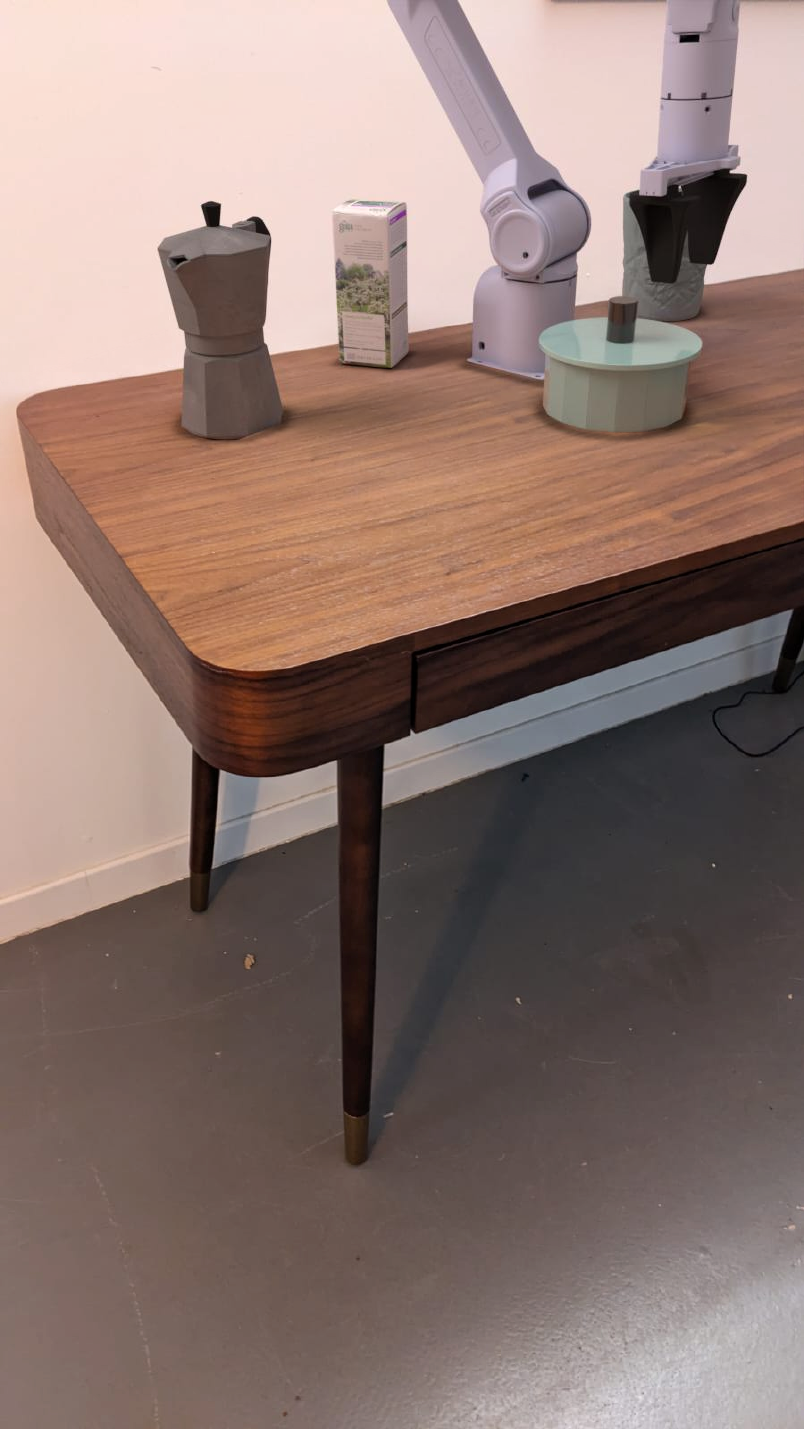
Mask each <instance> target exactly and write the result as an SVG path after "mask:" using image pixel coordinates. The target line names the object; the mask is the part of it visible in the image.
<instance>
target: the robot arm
mask: <svg viewBox="0 0 804 1429" xmlns="http://www.w3.org/2000/svg"><path fill="white" fill-rule="evenodd" d="M386 2H387V5H388V7H389V10H390V11H391V13H392V14H393V17H394V18H395V20H396V22H397V24H398V26H399V28H400V30H401V32H402V34H403V36H404V38H405V39H406V41H407V43H408V45H409V47H410V48H411V51H412V53H413V54H414V56H415V58H416V60H417V62H418V64H419V66H420V68H421V70H422V72H423V74H424V75H425V78H426V79H427V81H428V83H429V85H430V87H431V89H432V90H433V92H434V94H435V96H436V98H437V100H438V102H439V104H440V105H441V107H442V109H443V111H444V113H445V115H446V117H447V120H448V121H449V122H450V125H451V126H452V128H453V130H454V132H455V134H456V136H457V138H458V139H459V142H460V144H461V145H462V147H463V149H464V152H465V153H466V155H467V157H468V158H469V161H470V162H471V164H472V166H473V168H474V170H475V171H476V174H477V175H478V177H479V180H480V181H481V184H482V185H483V186H482V187H483V188H482V195H481V200H480V206H479V214H480V216H482V219H483V221H484V223H485V225H486V229H487V232H488V240H489V243H488V244H489V249H490V253H491V256H492V258H493V260H494V262H495V263H496V264H495V265H492V266H490V267H488V268H487V269H485V270H484V272H482V273H481V275H480V277H479V279H478V280H477V283H476V285H475V289H474V293H473V300H472V335H471V336H472V337H471V338H472V340H471V342H472V344H471V348H472V349H471V357H470V358H467V359H466V361H467V362H470V363H474V364H478V365H482V366H484V367H485V366H486V367H488V368H493V369H497V370H502V371H504V372H505V371H506V372H509V373H512V374H517V375H520V376H525V377H528V378H532V379H537V380H543V381H544V376H545V359H546V354H545V353H544V352H543V351H542V350H541V349H540V347H539V336H540V335H541V333H542V332H543V331H544V330H546V329H547V328H549V327H552V326H554V325H557V324H560V323H563V322H567V321H572V320H575V314H576V301H577V300H576V299H577V285H578V272H579V270H578V269H579V265H578V261H577V258H578V253H579V252H580V251H581V250H582V249H583V248H584V247H585V245H586V244H587V242H588V239H589V237H590V235H591V231H592V216H591V215H592V214H591V211H590V208H589V206H588V204H587V202H586V201H585V199H584V198H583V196H582V195H581V194H579V193H578V192H577V191H576V190H574V189H572V188H571V187H570V186H569V185H568V184H567V183H566V182H565V180H564V178H563V176H562V175H561V173H560V171H559V169H558V167H556V166H555V165H553V164H552V163H551V162H550V161H548V160H546V158H544V157H543V156H541V155H540V154H539V153H537V151H536V150H535V147H534V146H533V144H532V141H531V140H530V138H529V136H528V134H527V132H526V130H525V128H524V126H523V124H522V122H521V121H520V119H519V116H518V115H517V113H516V111H515V109H514V107H513V105H512V103H511V101H510V99H509V97H508V95H507V93H506V91H505V90H504V87H503V86H502V84H501V81H500V79H499V77H498V76H497V73H496V72H495V70H494V68H493V65H492V64H491V62H490V60H489V58H488V56H487V55H486V52H485V50H484V48H483V45H481V42H480V40H479V38H478V37H477V34H476V33H475V31H474V29H473V27H472V25H471V23H470V21H469V19H468V17H467V15H466V13H465V12H464V9H463V8H462V6H461V4H460V1H459V0H386ZM665 2H666V11H665V12H666V13H665V28H664V34H663V52H662V65H661V67H662V68H661V84H660V85H661V86H660V87H661V88H660V98H659V99H660V100H659V115H658V116H659V119H658V132H657V134H658V135H657V152H656V156H655V157H654V158H653V159H652V161H651V162H650V163H649V164H648V165H647V167H644V168H641V169H640V174H639V177H640V178H639V189H636V190H637V191H635V190H633V191H634V192H632V193H630V195H629V206H630V207H631V209H632V211H633V213H634V215H635V217H636V219H637V222H638V224H639V227H640V230H641V233H642V237H643V240H644V245H645V250H646V255H647V261H648V267H649V273H650V278H651V281H652V282H660V283H675V282H676V280H677V277H678V274H679V271H680V266H681V260H682V254H683V248H684V243H685V238H686V235H687V231H688V253H689V259H690V263H695V264H707V266H712V265H713V264H715V261H716V259H717V257H718V254H719V250H720V247H721V243H722V240H723V237H724V234H725V230H726V228H727V224H728V221H729V219H730V216H731V214H732V211H733V209H734V207H735V206H736V203H737V201H738V199H739V198H740V195H741V194H742V192H743V191H744V189H745V187H746V186H747V182H748V175H747V174H746V173H739V172H738V173H737V172H731V171H735V170H737V168H738V167H739V166H740V165H741V161H742V160H741V159H742V156H740V155H739V147H740V146H739V144H729V140H730V129H731V120H732V107H733V98H734V97H733V96H734V86H735V76H736V75H735V74H736V63H737V54H738V43H739V42H738V41H739V32H740V31H739V29H740V28H739V21H740V7H741V0H665ZM679 188H681V189H682V192H679ZM682 193H683V196H682Z"/></svg>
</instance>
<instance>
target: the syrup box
mask: <svg viewBox="0 0 804 1429" xmlns="http://www.w3.org/2000/svg"><path fill="white" fill-rule="evenodd" d="M331 220H332V222H331V223H332V240H333V241H332V242H333V260H334V261H333V262H334V279H335V280H334V281H335V298H336V299H335V300H336V301H335V302H336V303H335V304H336V317H337V318H336V319H337V320H336V322H337V338H338V360H339V363H340V364H345V365H346V364H347V365H356V366H364V367H365V366H366V367H373V368H385V369H386V368H387V369H391V368H393V367H395V366H396V365H398V363H399V362H400V361H401V360H402V359H403V358H405V356H407V355H408V354H409V351H410V339H409V337H410V336H409V309H408V308H409V307H408V306H409V303H408V206H407V202H405V201H393V200H392V201H390V200H389V201H388V200H373V199H372V200H370V199H349V200H346V201H343V202H342V203H340V204H338V206H336V207H335V208H333V209H332V210H331Z"/></svg>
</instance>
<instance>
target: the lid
mask: <svg viewBox="0 0 804 1429" xmlns="http://www.w3.org/2000/svg"><path fill="white" fill-rule="evenodd" d="M637 309H638V299H636V298H633V297H628V296H622V295H618V296H612V297H610V298H609V300H608V311H607V316H603V317H601V316H600V317H587V318H579V319H578V318H577V319H574V320H572V321H567V322H563V323H560V324H557V325H554V326H552V327H549V328H547V329H546V330H544V331H543V332H542V333H541V335H540V336H539V347H540V349H541V350H542V351H543V352H544V353H545V354H547V355H548V356H550V357H552V358H554V359H556V360H559V361H562V362H565V363H568V364H572V365H576V366H581V367H587V368H593V369H601V370H614V371H643V370H655V369H663V368H669V367H674V366H678V365H681V364H685V363H687V362H690V361H691V362H692V361H694V360H695V359H697V358H698V357H699V356H700V355H701V354H702V351H703V345H704V344H703V340H702V339H701V336H699V335H697V334H696V333H695V332H693V331H691V330H689V329H687V328H685V327H682V326H679V325H676V324H672V323H669V322H666V321H654V320H647V319H639V318H637Z"/></svg>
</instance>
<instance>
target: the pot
mask: <svg viewBox="0 0 804 1429" xmlns="http://www.w3.org/2000/svg"><path fill="white" fill-rule="evenodd" d="M691 366H692V361H690V362H687V363H685V364H681V365H678V366H674V367H669V368H663V369H655V370H643V371H614V370H601V369H593V368H587V367H581V366H576V365H572V364H568V363H565V362H562V361H559V360H556V359H554V358H552V357H550V356H548V355H547V354H546V359H545V376H544V380H543V392H542V394H543V395H542V406H543V408H544V411H545V412H546V415H548V416H550V417H551V418H552V419H555V420H556V421H558V422H560V423H561V424H565V425H569V426H572V427H576V428H580V429H583V430H588V431H596V432H597V431H598V432H606V433H607V432H608V433H635V432H638V433H639V432H646V431H651V430H657V429H662V428H666V427H669V426H670V425H672V424H674V423H675V422H678V421H680V420H681V419H682V418H683V415H684V413H685V410H686V404H687V395H688V388H689V382H690V372H691V368H692V367H691Z"/></svg>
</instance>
